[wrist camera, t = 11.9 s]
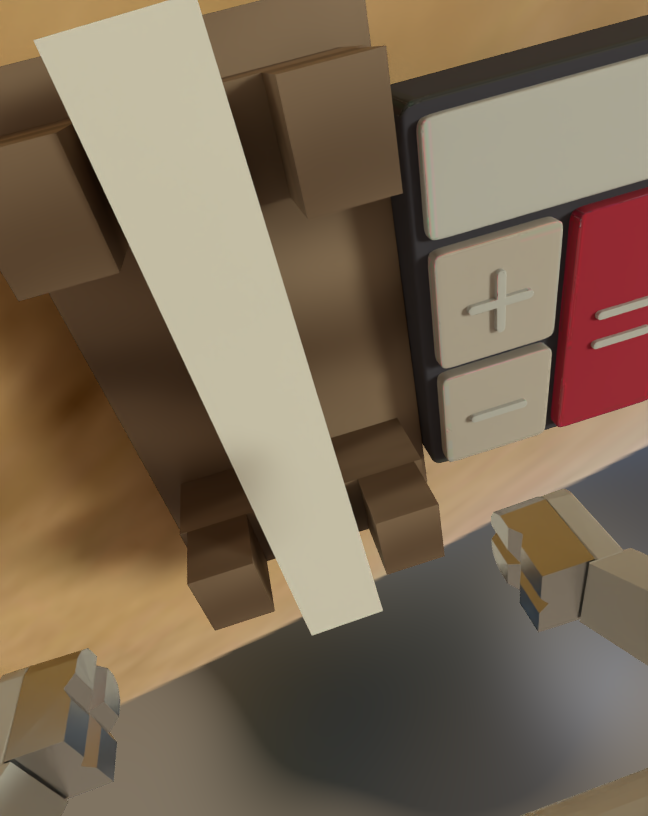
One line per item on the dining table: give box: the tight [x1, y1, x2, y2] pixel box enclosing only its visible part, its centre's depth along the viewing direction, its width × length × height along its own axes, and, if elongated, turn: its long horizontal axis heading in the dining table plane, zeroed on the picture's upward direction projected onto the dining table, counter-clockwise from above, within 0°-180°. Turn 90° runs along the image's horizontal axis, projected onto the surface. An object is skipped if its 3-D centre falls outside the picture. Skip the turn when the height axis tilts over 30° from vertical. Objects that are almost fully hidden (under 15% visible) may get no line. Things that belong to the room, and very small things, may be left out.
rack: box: [0, 0, 444, 630], centre depth 18 cm, size 20×12×7 cm, turn 12°
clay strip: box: [34, 0, 383, 635], centre depth 16 cm, size 20×3×3 cm, turn 14°
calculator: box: [390, 15, 648, 463], centre depth 21 cm, size 11×4×15 cm
